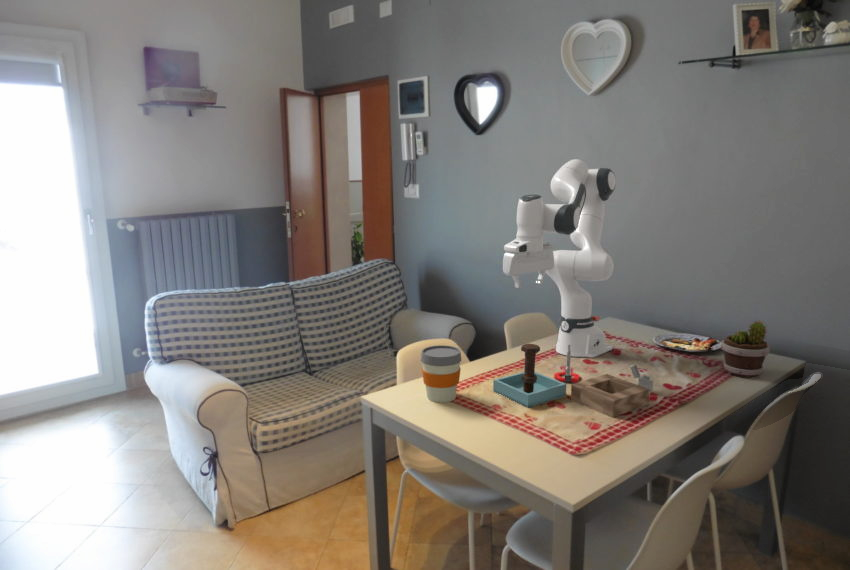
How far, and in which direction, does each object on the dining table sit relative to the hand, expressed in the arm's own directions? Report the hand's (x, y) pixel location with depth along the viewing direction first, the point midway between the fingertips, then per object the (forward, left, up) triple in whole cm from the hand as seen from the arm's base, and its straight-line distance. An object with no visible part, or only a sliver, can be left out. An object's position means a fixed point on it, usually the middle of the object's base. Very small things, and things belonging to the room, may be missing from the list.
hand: (528, 285), depth 203 cm
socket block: (-3, +33, -31) cm, 45 cm away
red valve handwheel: (-8, +11, -32) cm, 34 cm away
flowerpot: (-60, +42, -31) cm, 80 cm away
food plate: (-73, +13, -32) cm, 80 cm away
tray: (+12, +14, -31) cm, 36 cm away
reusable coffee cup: (+36, 0, -31) cm, 48 cm away
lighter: (-19, +32, -31) cm, 49 cm away
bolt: (+12, +14, -30) cm, 36 cm away
